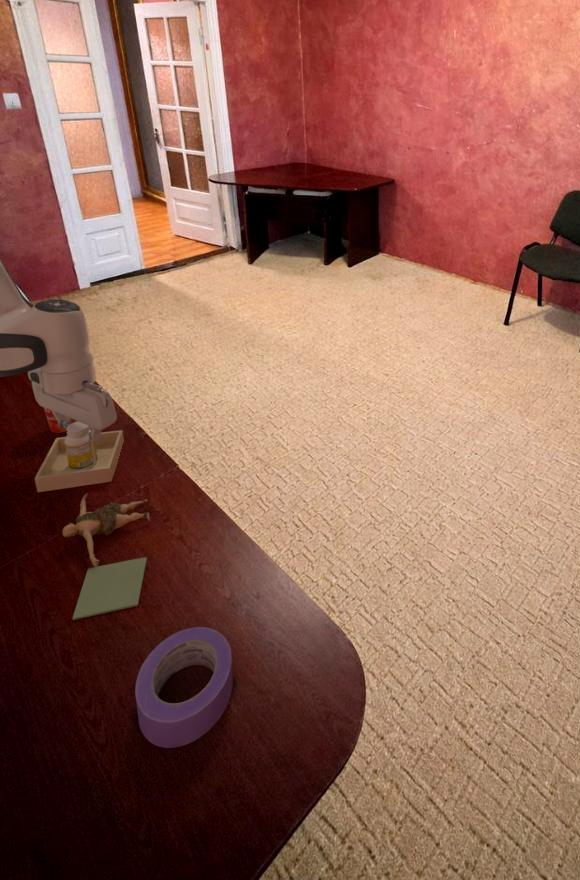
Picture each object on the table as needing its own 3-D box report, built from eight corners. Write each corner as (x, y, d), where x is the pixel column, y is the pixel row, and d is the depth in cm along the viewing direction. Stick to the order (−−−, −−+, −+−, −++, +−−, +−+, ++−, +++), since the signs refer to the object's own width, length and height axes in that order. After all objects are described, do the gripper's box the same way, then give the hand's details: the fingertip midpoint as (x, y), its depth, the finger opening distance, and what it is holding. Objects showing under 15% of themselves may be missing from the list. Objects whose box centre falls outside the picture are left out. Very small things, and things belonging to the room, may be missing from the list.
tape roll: (218, 634, 73) (216, 610, 72) (245, 708, 65) (244, 682, 63) (131, 683, 66) (127, 657, 65) (148, 772, 58) (144, 746, 56)
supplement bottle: (86, 473, 102) (80, 435, 99) (62, 470, 103) (55, 432, 100) (103, 457, 107) (98, 420, 104) (80, 454, 108) (74, 417, 105)
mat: (72, 620, 74) (72, 618, 74) (88, 570, 82) (88, 568, 82) (138, 605, 77) (137, 603, 77) (147, 558, 85) (146, 556, 85)
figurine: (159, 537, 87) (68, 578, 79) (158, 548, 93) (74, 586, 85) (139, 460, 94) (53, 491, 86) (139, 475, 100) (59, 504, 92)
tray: (37, 492, 97) (34, 478, 96) (58, 450, 109) (56, 437, 108) (111, 481, 101) (109, 467, 100) (124, 442, 113) (122, 429, 112)
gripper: (120, 381, 98) (128, 438, 102) (53, 357, 105) (63, 412, 109) (90, 396, 92) (100, 456, 96) (21, 370, 99) (34, 427, 104)
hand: (80, 432), depth 103 cm, fingers open, 8 cm apart
